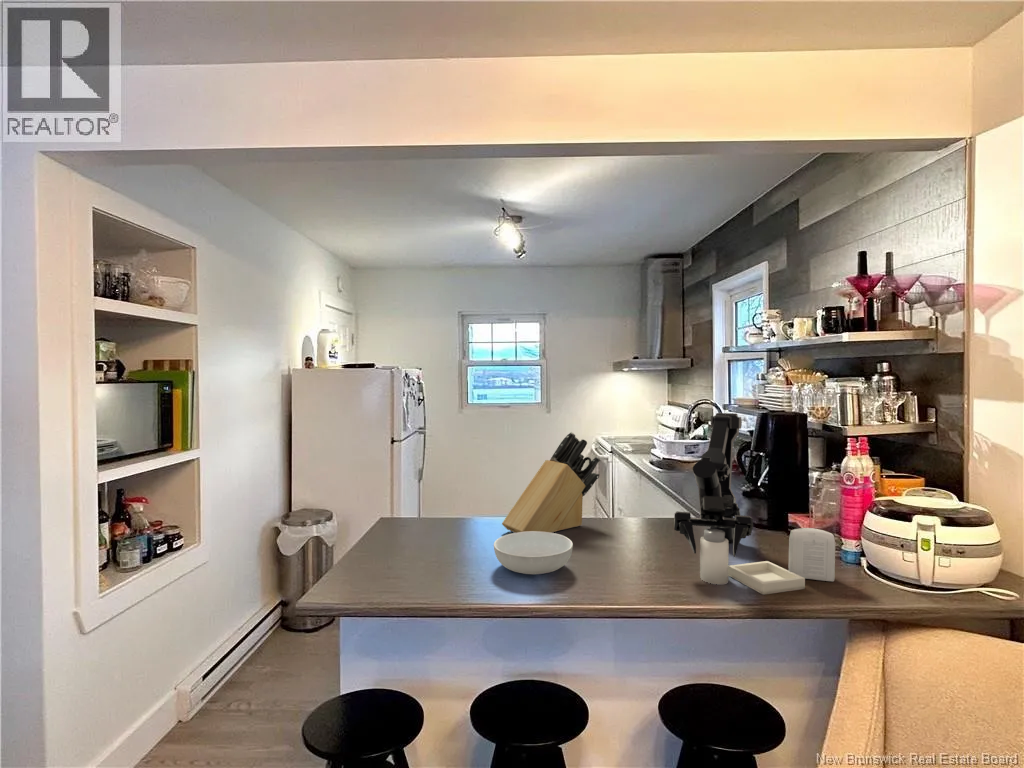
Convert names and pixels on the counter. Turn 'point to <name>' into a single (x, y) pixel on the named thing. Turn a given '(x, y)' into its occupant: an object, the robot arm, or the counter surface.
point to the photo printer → (812, 554)
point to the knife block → (555, 491)
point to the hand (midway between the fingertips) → (714, 554)
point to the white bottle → (714, 557)
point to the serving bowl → (533, 551)
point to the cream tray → (766, 577)
